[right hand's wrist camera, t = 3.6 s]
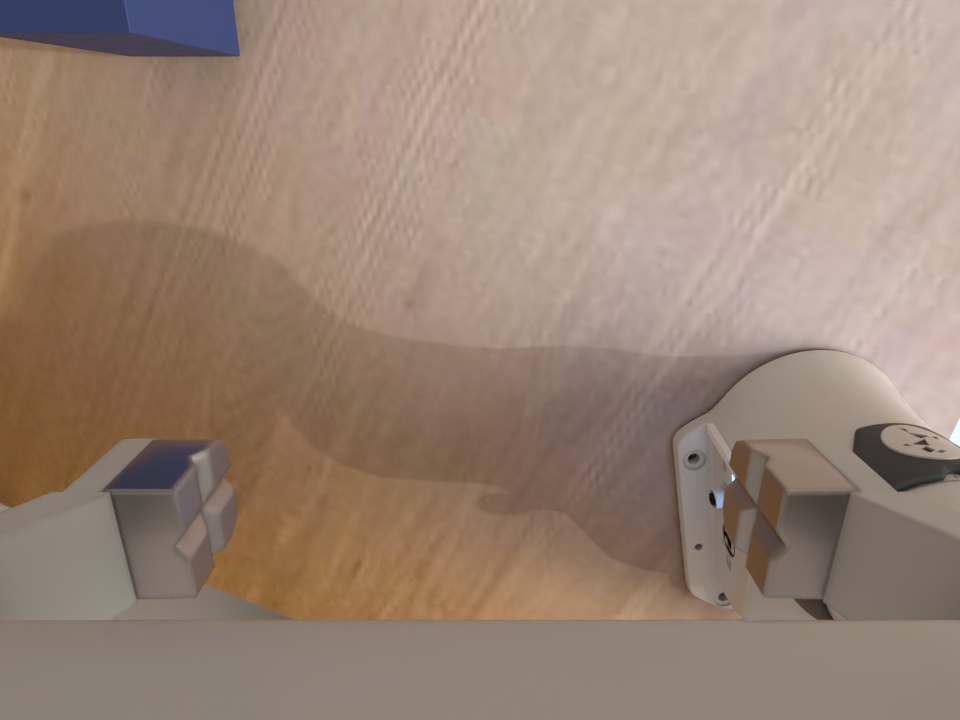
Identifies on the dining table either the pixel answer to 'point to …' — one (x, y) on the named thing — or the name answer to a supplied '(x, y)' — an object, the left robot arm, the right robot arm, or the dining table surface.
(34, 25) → the box
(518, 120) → the dining table surface
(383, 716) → the right robot arm
